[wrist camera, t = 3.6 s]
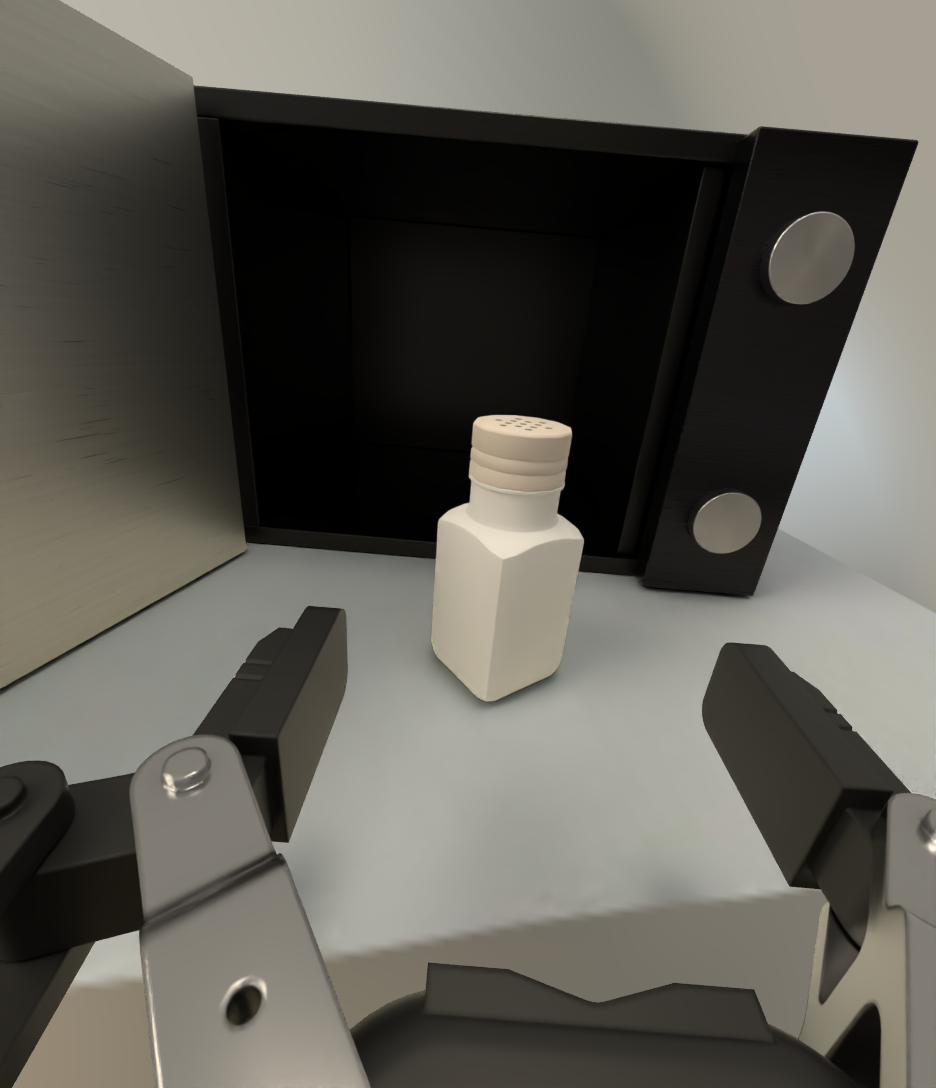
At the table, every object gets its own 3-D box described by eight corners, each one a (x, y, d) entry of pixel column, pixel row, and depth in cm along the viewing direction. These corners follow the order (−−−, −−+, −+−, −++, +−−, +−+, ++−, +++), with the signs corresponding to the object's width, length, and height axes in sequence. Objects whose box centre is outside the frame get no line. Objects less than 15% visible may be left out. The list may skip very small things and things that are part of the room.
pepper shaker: (483, 714, 17) (516, 442, 13) (424, 652, 20) (437, 414, 16) (564, 676, 20) (613, 434, 16) (500, 625, 22) (528, 410, 19)
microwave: (760, 607, 26) (941, 124, 18) (222, 560, 26) (153, 55, 18) (634, 474, 48) (688, 233, 40) (344, 449, 48) (339, 202, 40)
